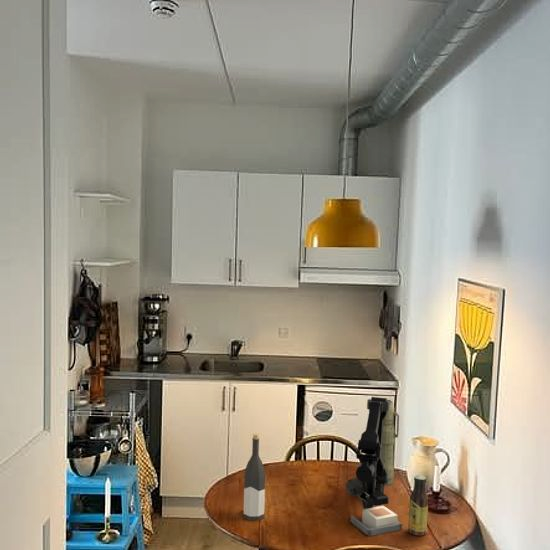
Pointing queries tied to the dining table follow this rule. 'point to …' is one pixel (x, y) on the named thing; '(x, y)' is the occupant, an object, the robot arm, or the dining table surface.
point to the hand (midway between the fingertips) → (366, 514)
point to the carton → (378, 517)
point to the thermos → (389, 441)
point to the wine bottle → (254, 485)
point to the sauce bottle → (418, 507)
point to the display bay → (378, 529)
